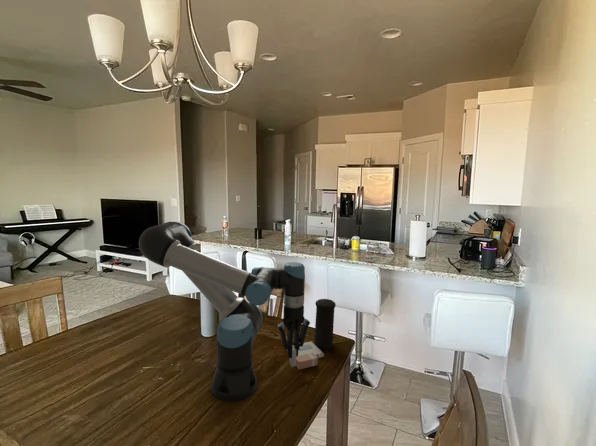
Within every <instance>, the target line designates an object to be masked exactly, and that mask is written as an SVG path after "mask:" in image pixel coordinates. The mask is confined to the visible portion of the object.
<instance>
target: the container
mask: <svg viewBox="0 0 596 446" xmlns="http://www.w3.org/2000/svg"><path fill="white" fill-rule="evenodd" d="M315 306H316V310H315V311H316V312H315V325H314V339H313V340H314V341H313V343H314V344H315V345H316V346H317V347H318V348H319V349H320V350H324V351H325V350H330V349H331V348H333V345H334V323H335V321H334V320H335V319H334V318H335V308H336V302H335V301H334V300H332V299H329V298H320V299H317V300H316V301H315Z"/></svg>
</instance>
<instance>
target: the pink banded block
mask: <svg viewBox="0 0 596 446" xmlns="http://www.w3.org/2000/svg"><path fill="white" fill-rule="evenodd" d="M318 361H319V358H317V357H316V355H315V354H314V353H309V354H305V355H300V356H297V357H296V366H295V367H296V368H297V370H303V369H306V368H310V367H315V366H318Z"/></svg>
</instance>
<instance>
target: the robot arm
mask: <svg viewBox="0 0 596 446" xmlns="http://www.w3.org/2000/svg"><path fill="white" fill-rule="evenodd" d="M192 238H193V237H192V231H191V230H190V228H189V227H188V226H187V225H186V224H184V223H183V222H179V221H167V222H164V223H162V224H158V225H153V226H150V227H148V228H146V229H145V230H144V231H143V232H142V233H141V234H140V237H139V239H138V248H139V252H141V253H140V254H141V255H143V256H144V258H146V260H149V262H152V263H154V264H156V265H158V266H162V267H164V268H166V269H167V268H170V267H173V268H175V269H177V270H180V271H182V273H184V274H185V276H186V277H187V278H188V279H189V280H190V282H191V283H192V284H193V285H194V286H195V287H196V288H197V289H198V290H199V291H200V293H201V294H202V295H203V297H205V298H206V299H207V301H208V302H210V304H211V305H212V306H213V307H214V308H215V309H216V310H217V312H218V313H219V323H218V324H217V328H216V329H217V331H216V368H215V372H214V375H213V377H212V379H211V393H212V394H213V395H212V396H214V397H215V398H217V399H218V400H221V401H224V402H238V401H243V400H246V399H247V398H249V397H250V396H252V395H253V394H254V393H255V391H256V389H257V387H258V379H257V378H258V377H257V375H256V372H255V368H254V366H253V346H254V342H255V341H256V339H257V336H258V334H259V332H260V330H261V328H262V324H263V313H262V311H261V309H260V307H259V306H261V305H264V304H266V303H267V301H268V300H269V299H270V298H271V296H272V292H273V290H283V317H282V319H281V320H282V321H281V323H276V328H277V329H278V331H279V332H278V333H279V335H280V339H281V343H282V344H281V345H282V347H283V348H284V350H285V351H287V350H288V351H287V357H288V358H289V365H290V366H291V367H292V368H294V367H296V357H297V356H298V350H299V349H300V348H299V347H300V346H301V347H302V346H303V344H304V343H305V339H306V335H307V331H308V328H309V326H310V324H311V321H310V320H308V319H307V318H305V288H306V287H305V285H306V283H305V282H306V281H305V280H306V275H305V273H306V272H305V271H306V270H305V265H304V264H303V263H301V262H296V261H292V262H286V263H284V266H283V268H281V267H264V266H261V267H259V266H258V267H253V268H252V269H251V272H249V271H247V270H244V269H242V268H239V267H237V266H234V265H231V264H229V263H227V262H224V261H221V260H219V259H217V258H215V257H212V256H210V255H208V254H205V253H202V252H200V251H197V243H196V242H195V241H194V239H192ZM235 293H237V294H239V295H241V297H239V296H237V294H235ZM242 296H245V297H242ZM285 327H286V330H287V331H286V332H287V335H286V332H285V330H284V329H285ZM293 345H294V347H293Z"/></svg>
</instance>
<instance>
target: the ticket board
mask: <svg viewBox="0 0 596 446" xmlns="http://www.w3.org/2000/svg"><path fill="white" fill-rule="evenodd" d="M293 347H294V345H293ZM299 348H300V349H299V350H298V356H300V355H305V354H309V353H314V354H315V355H316V357H317V358H318V359H321V358H323V357H324V358H325V354H324V352H323V351H322V349H319V348H318V347H317V346H316V345H315V344H314V341H307V342H304V344H303V346H302V347H301V346H300V347H299ZM286 351H287V352H288V350H286Z"/></svg>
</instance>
